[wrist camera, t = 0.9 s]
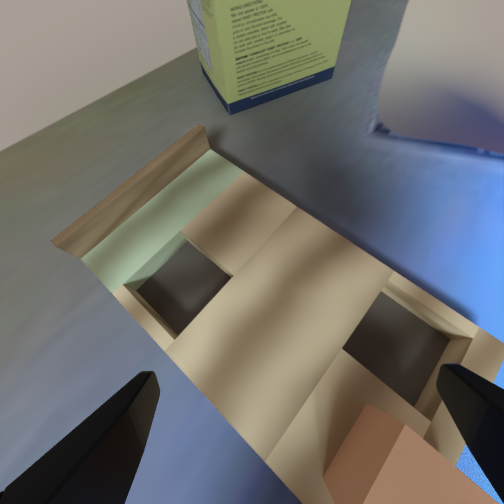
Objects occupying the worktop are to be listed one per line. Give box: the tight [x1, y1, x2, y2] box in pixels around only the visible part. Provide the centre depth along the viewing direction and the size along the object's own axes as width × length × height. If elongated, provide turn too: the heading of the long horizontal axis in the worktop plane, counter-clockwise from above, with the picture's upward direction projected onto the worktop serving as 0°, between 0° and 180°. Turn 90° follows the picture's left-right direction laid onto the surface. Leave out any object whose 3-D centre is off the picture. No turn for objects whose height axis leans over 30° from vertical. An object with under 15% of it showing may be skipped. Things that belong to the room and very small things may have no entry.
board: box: [51, 124, 504, 504], centre depth 18 cm, size 30×16×5 cm, turn 49°
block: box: [323, 403, 499, 504], centre depth 12 cm, size 5×5×4 cm
